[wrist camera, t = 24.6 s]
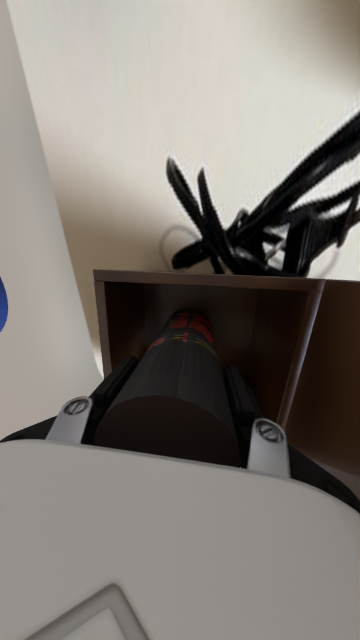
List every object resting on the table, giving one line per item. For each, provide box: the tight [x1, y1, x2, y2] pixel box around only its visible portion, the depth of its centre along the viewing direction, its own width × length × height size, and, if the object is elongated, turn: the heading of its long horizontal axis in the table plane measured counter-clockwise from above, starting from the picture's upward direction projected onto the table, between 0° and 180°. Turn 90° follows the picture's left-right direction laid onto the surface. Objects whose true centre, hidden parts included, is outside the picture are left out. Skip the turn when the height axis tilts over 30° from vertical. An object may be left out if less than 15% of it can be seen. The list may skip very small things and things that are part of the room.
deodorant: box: [94, 308, 241, 468], centre depth 14 cm, size 6×6×15 cm
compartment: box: [93, 270, 326, 430], centre depth 18 cm, size 16×14×10 cm
